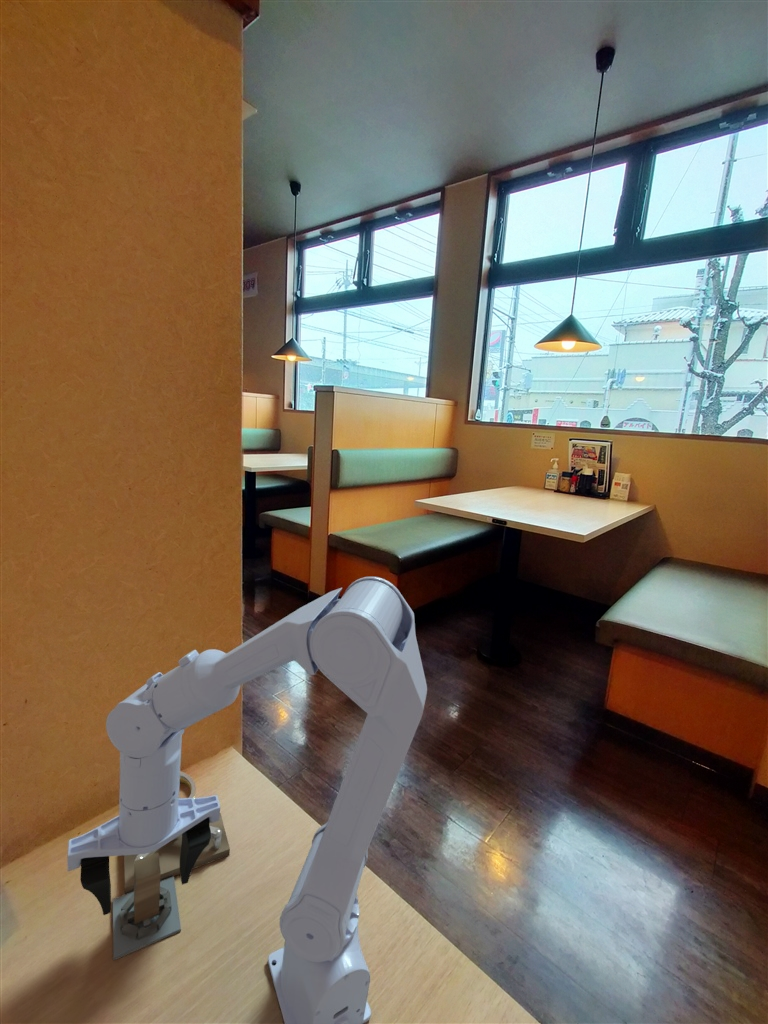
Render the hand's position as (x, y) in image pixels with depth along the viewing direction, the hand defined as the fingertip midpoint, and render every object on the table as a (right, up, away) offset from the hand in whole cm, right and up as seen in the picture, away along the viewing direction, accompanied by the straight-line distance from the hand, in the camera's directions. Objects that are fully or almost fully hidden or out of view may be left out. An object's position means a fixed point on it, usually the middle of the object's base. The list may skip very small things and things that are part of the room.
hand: (147, 889), depth 51 cm
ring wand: (0, -3, +1) cm, 3 cm away
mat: (0, -4, +1) cm, 4 cm away
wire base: (0, -2, +8) cm, 8 cm away
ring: (-1, 0, +15) cm, 15 cm away
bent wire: (0, -2, +8) cm, 8 cm away
